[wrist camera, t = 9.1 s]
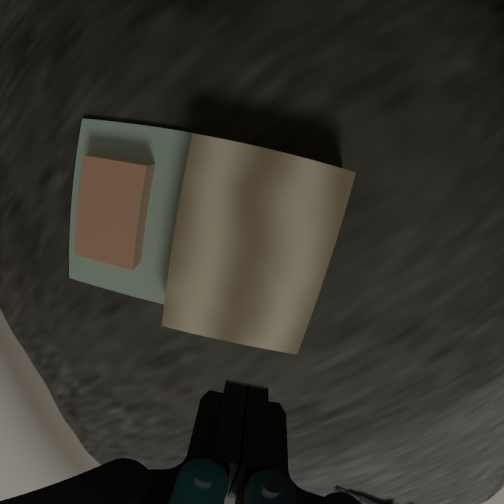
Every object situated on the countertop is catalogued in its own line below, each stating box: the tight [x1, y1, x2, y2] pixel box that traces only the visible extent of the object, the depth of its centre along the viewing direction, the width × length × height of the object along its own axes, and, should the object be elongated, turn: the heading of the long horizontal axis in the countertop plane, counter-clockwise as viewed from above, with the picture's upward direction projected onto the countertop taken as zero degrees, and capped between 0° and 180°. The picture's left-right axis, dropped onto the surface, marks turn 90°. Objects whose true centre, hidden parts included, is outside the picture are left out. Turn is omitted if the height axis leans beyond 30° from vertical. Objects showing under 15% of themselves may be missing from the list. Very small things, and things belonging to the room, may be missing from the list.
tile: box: [75, 154, 155, 270], centre depth 26 cm, size 6×9×2 cm, turn 167°
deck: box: [162, 133, 355, 354], centre depth 26 cm, size 12×16×4 cm
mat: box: [69, 118, 195, 304], centre depth 27 cm, size 11×16×1 cm
